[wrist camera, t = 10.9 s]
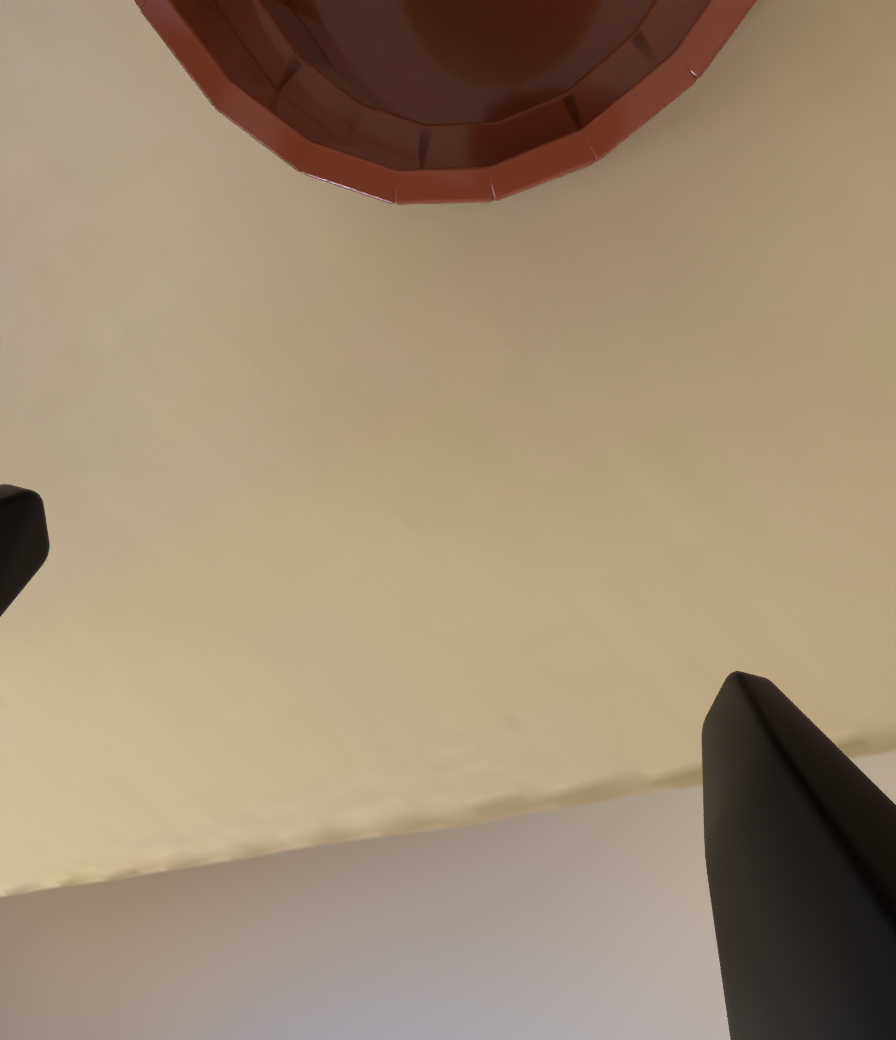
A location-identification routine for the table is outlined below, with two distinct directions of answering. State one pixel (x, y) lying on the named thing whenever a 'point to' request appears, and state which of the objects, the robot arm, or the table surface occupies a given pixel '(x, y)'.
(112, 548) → the table surface
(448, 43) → the bowl
